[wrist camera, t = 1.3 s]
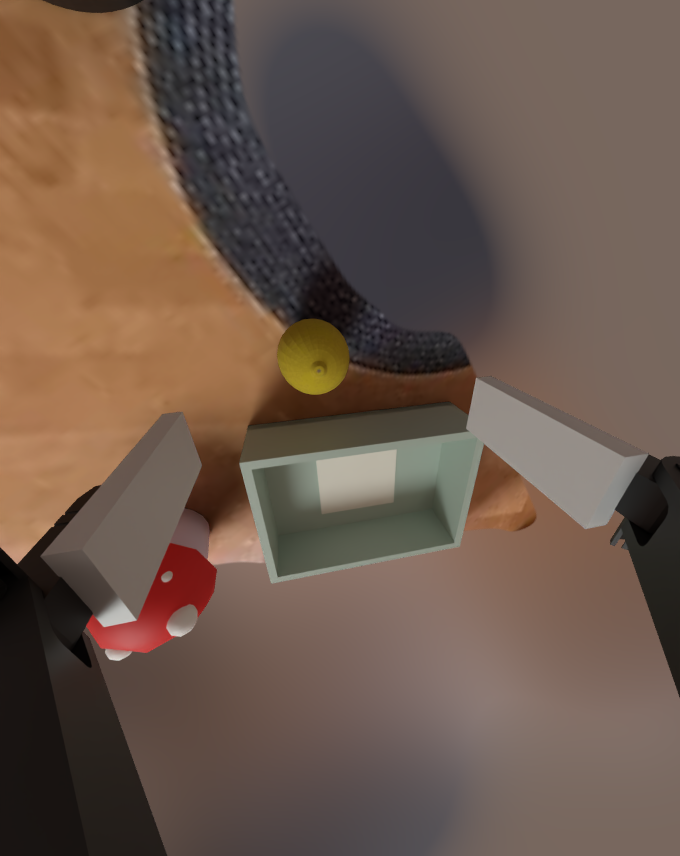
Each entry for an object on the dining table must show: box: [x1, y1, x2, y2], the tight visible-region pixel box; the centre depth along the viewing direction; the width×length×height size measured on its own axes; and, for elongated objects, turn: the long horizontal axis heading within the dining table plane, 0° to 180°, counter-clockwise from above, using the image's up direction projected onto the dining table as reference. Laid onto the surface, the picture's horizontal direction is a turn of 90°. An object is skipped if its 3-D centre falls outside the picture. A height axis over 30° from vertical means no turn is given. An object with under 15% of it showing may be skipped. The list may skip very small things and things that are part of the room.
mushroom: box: [86, 508, 217, 660], centre depth 27 cm, size 11×11×12 cm
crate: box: [239, 402, 484, 583], centre depth 30 cm, size 16×22×6 cm
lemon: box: [277, 319, 349, 395], centre depth 22 cm, size 6×6×8 cm
